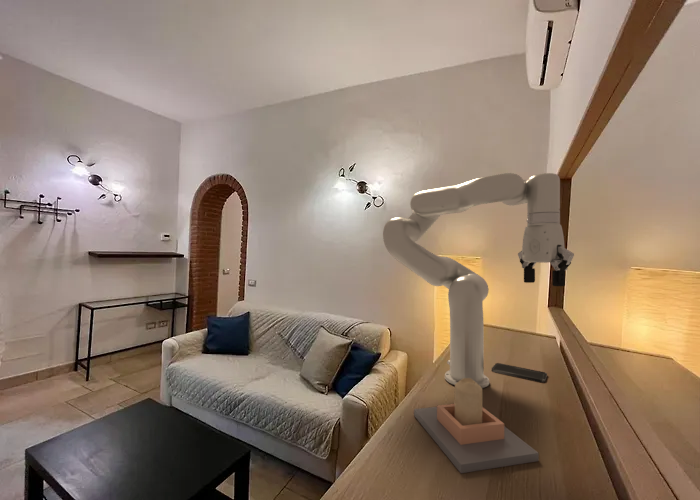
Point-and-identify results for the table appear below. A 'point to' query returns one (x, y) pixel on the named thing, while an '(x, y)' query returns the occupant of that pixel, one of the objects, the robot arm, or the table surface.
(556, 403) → the table surface
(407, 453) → the table surface
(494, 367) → the phone
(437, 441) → the candle stand
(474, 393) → the candle
